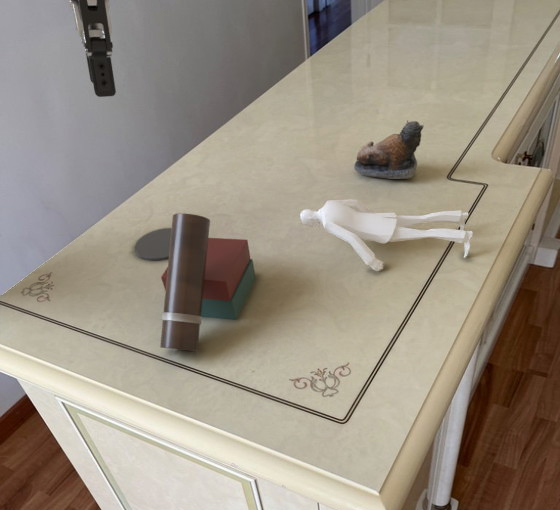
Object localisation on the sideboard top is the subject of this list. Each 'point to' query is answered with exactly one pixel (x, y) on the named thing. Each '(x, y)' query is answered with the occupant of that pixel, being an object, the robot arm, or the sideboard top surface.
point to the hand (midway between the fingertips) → (103, 89)
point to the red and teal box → (225, 278)
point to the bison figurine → (391, 154)
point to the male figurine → (381, 226)
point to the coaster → (154, 245)
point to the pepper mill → (185, 282)
